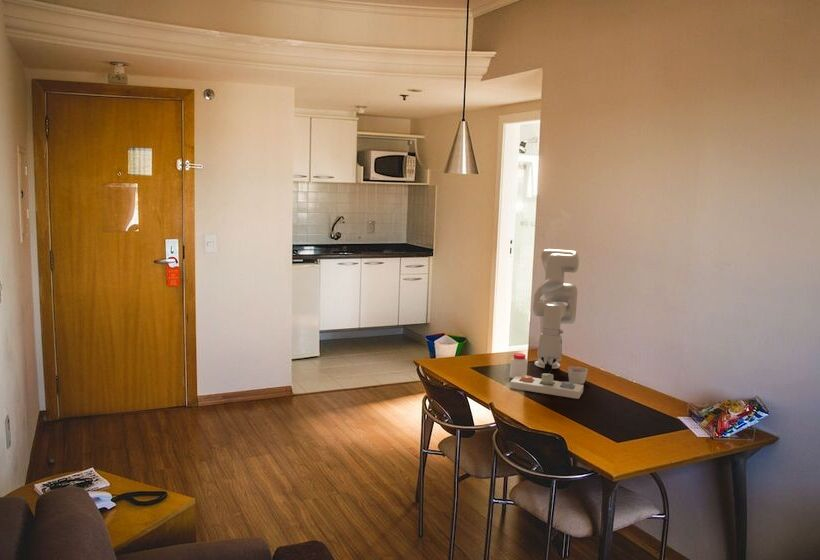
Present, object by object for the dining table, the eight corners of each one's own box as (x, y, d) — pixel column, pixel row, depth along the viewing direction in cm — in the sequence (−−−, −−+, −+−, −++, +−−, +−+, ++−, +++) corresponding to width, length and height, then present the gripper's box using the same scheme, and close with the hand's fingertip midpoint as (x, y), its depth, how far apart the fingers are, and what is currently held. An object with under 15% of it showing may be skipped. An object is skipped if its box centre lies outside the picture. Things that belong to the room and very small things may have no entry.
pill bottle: (525, 375, 322) (527, 353, 321) (526, 380, 315) (528, 357, 313) (509, 374, 323) (510, 352, 322) (510, 379, 315) (511, 355, 314)
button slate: (562, 389, 301) (563, 380, 300) (573, 391, 299) (574, 382, 298) (560, 392, 296) (561, 383, 296) (572, 394, 294) (572, 385, 294)
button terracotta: (522, 383, 308) (522, 374, 307) (533, 385, 306) (533, 376, 305) (519, 386, 303) (520, 377, 302) (530, 387, 301) (531, 379, 300)
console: (516, 381, 312) (517, 375, 312) (583, 391, 301) (583, 385, 300) (510, 388, 301) (510, 381, 301) (578, 398, 290) (579, 392, 289)
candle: (574, 385, 310) (575, 372, 309) (562, 380, 318) (563, 367, 317) (590, 384, 313) (591, 370, 313) (578, 378, 322) (579, 365, 321)
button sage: (542, 381, 304) (543, 372, 303) (553, 383, 302) (554, 374, 301) (540, 384, 299) (540, 375, 299) (551, 386, 297) (552, 377, 297)
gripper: (569, 332, 298) (566, 373, 300) (535, 328, 303) (532, 368, 306) (566, 335, 291) (563, 377, 293) (532, 331, 297) (529, 372, 299)
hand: (547, 372), depth 299 cm, fingers closed
